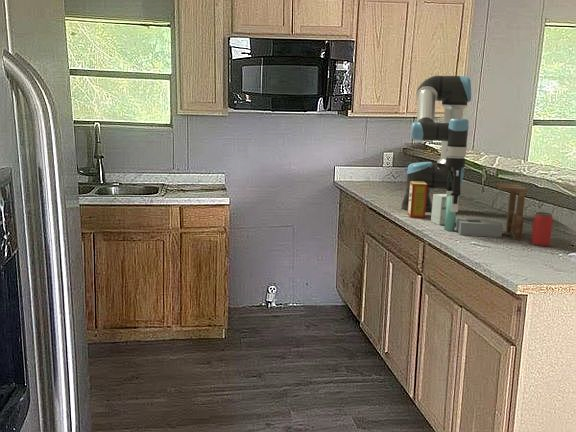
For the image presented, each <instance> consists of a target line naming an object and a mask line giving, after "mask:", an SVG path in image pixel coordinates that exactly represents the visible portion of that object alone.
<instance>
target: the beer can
mask: <svg viewBox="0 0 576 432" xmlns="http://www.w3.org/2000/svg"><path fill="white" fill-rule="evenodd" d="M553 219H554V217H553V213H550V212H545V211H544V212H543V211H540V212H539V211H538V212H536V213H535V214H534V218H533V223H532V231H531V238H530V243H531V245H533V246H539V247H549V246H550V245H551V239H552V231H553V223H554V220H553Z"/></svg>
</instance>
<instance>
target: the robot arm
mask: <svg viewBox="0 0 576 432" xmlns="http://www.w3.org/2000/svg"><path fill="white" fill-rule="evenodd" d="M415 96H416V100H417V112H416V113H417V115H416V121H414V122H412V123H411V139H412V140H416V141H438V142H441V147H440V149H441V150H440V151H441V152H440V158H439V159H438V160H437V161H436V165H435V164H434V165H433V162H432V161H420V162H413V163H410V164H409V165H408V166H407V172H406V187H405V194H404V197H403V199H402V202H401V209H403V210H406V211H408V202H409V188H410V181H418V182H425V183H426V184H427V197H426V210H425V212H430V211H431V212H432V203H433V201H432V198H431V193H430V192H431V190H446V193H445V194H446V205H445V206H447V196H452V199H451V210H450V211H451V212H456V213H458V212H459V211H458V210H459V201H460V196H461V187H462V183H463V179H464V174H465V167H466V158H465V157H467V144H468V143H467V142H468V135H469V134H468V133H469V128H470V127H469V122H470V121H469V120H468V118H467V119H466V118H463V116H464V109H465V108H466V107H467V106H468V103H469V102H471V101H472V83H471V79H470V77H469V76H463V75H433V76H430V77H428V78H427V79H425V80H424V81H422V82H421V84H420V85H419V86H418V87H417V91H416V95H415ZM437 101H438V102H441V106H442V107H443V108H444V115H443V122H435V118H436V117H435V116H436V102H437Z"/></svg>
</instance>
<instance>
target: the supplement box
mask: <svg viewBox="0 0 576 432" xmlns="http://www.w3.org/2000/svg"><path fill="white" fill-rule="evenodd" d="M432 195H433V196H432V210H431V217H430V222H431V223H433V224H436V225H439V226H441V225H444V226H445V217H446V206H445V205H446V193H434V194H432Z"/></svg>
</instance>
